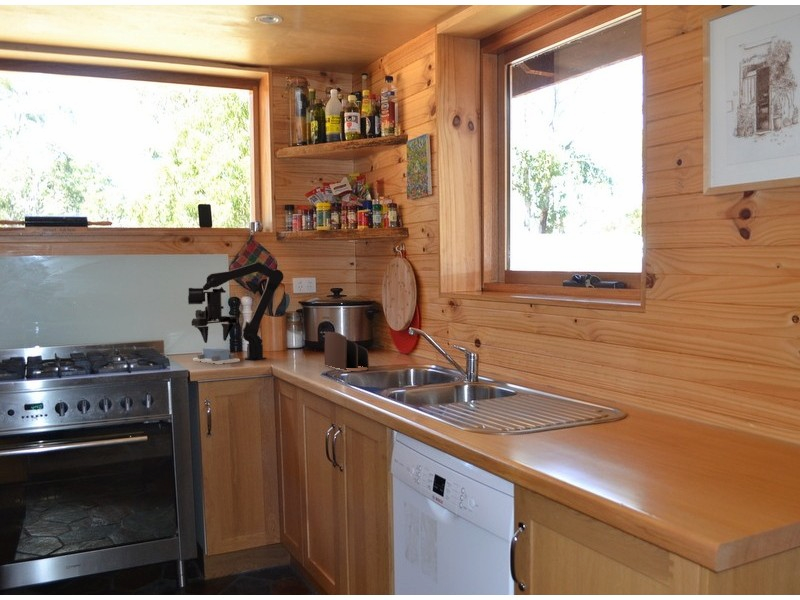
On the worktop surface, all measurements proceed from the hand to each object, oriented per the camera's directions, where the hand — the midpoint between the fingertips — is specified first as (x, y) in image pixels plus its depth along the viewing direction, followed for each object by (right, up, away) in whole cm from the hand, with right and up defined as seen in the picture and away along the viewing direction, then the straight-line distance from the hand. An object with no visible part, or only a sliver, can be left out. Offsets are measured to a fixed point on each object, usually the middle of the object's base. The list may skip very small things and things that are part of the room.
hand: (215, 341), depth 296 cm
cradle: (0, -8, +1) cm, 8 cm away
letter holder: (+55, -9, -22) cm, 60 cm away
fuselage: (0, -7, +1) cm, 7 cm away
